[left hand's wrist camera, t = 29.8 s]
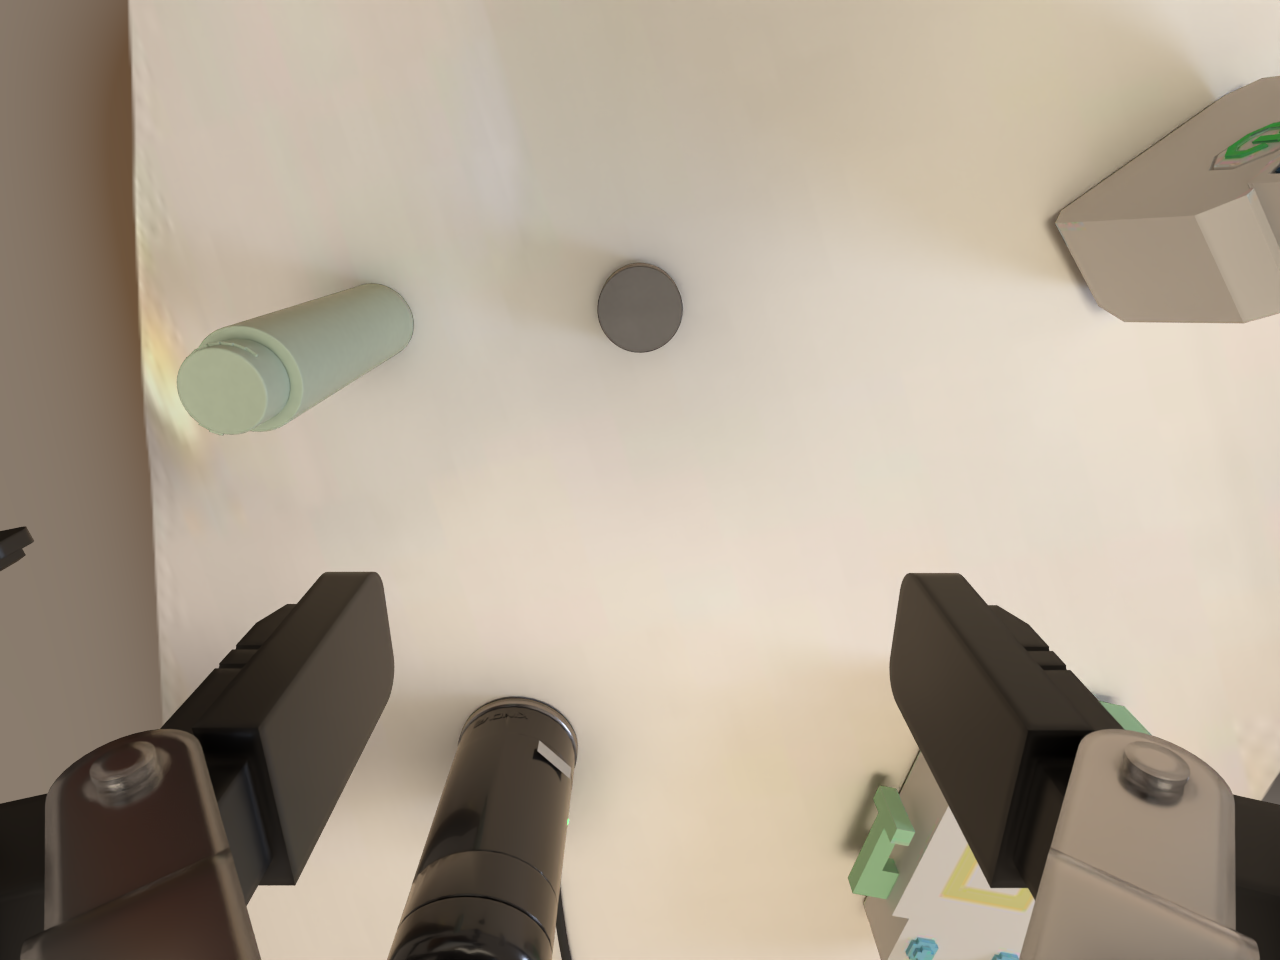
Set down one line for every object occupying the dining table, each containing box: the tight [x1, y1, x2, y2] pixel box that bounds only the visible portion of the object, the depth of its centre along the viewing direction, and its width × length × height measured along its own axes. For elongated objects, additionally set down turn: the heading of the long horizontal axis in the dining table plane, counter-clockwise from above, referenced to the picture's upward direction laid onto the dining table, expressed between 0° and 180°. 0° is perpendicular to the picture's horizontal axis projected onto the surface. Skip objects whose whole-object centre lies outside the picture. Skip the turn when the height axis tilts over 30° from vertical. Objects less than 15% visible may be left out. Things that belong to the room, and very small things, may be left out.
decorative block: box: [848, 701, 1151, 960], centre depth 57 cm, size 26×6×20 cm
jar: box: [177, 284, 413, 436], centre depth 38 cm, size 5×5×18 cm
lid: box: [598, 263, 683, 353], centre depth 45 cm, size 5×5×2 cm
